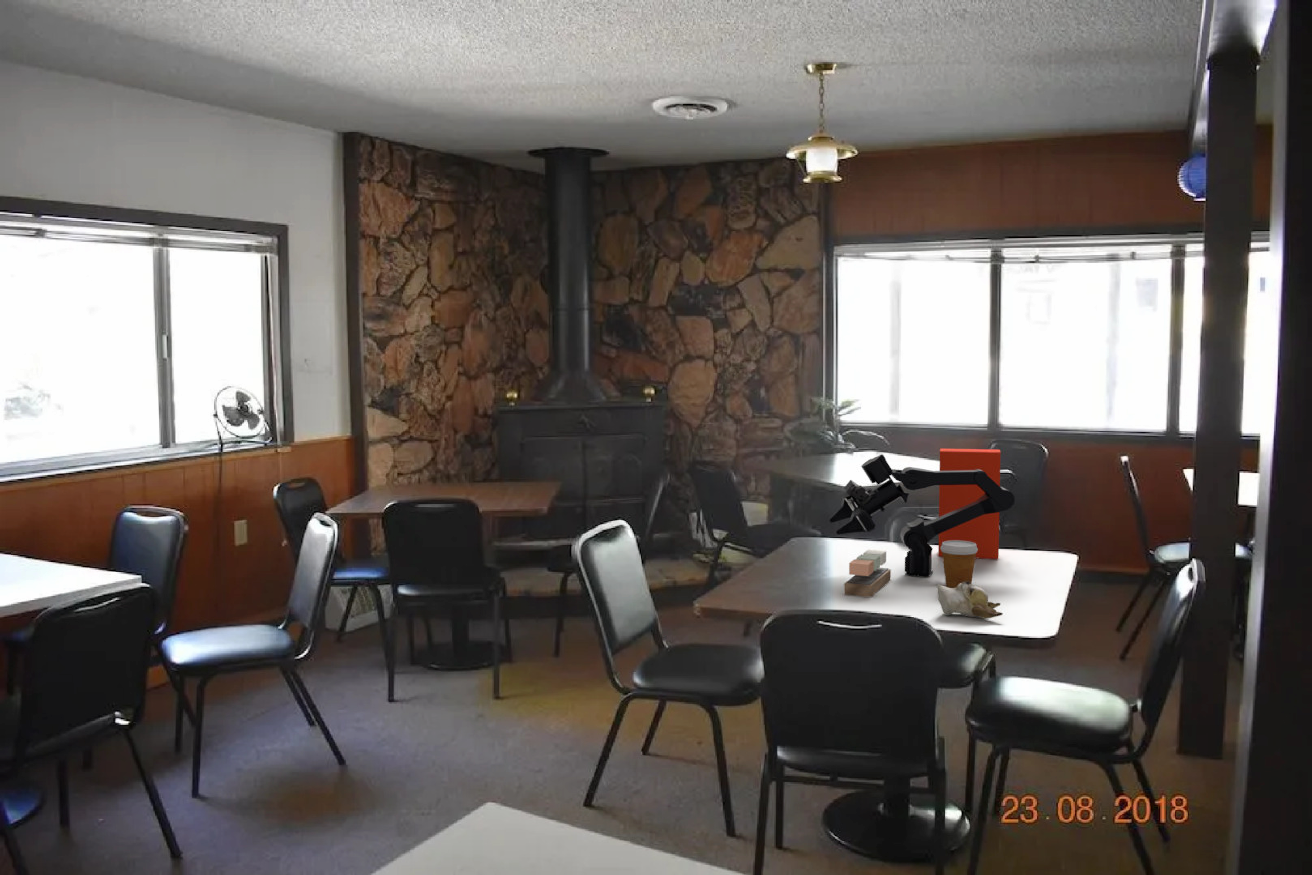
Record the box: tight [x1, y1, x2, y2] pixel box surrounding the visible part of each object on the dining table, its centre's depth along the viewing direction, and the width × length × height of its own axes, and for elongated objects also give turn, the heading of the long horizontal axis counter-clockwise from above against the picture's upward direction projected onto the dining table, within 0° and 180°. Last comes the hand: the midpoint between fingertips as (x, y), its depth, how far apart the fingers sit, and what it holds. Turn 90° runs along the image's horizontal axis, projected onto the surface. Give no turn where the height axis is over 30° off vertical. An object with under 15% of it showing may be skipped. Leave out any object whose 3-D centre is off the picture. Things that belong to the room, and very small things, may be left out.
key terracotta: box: [848, 558, 873, 576], centre depth 278 cm, size 5×5×3 cm
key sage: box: [856, 553, 881, 571], centre depth 284 cm, size 5×5×3 cm
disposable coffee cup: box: [940, 540, 978, 588], centre depth 282 cm, size 10×10×12 cm
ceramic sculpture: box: [936, 581, 1004, 619], centre depth 255 cm, size 11×9×15 cm
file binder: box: [937, 448, 1002, 560], centre depth 324 cm, size 8×17×32 cm, turn 74°
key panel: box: [843, 567, 892, 598], centre depth 285 cm, size 7×21×3 cm, turn 154°
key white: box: [862, 549, 887, 567], centre depth 291 cm, size 5×5×3 cm
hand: (833, 526), depth 301 cm, fingers open, 9 cm apart
